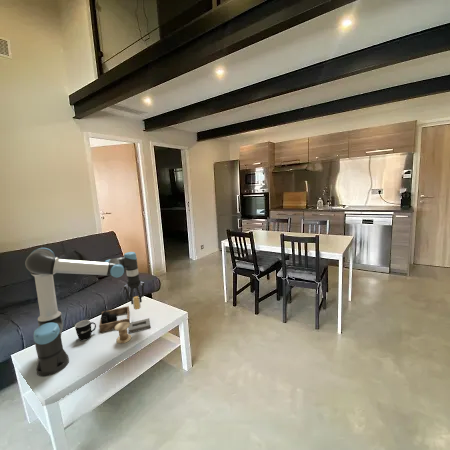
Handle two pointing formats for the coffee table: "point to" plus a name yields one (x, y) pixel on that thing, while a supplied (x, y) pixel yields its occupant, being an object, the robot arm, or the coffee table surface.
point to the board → (139, 325)
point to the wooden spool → (123, 332)
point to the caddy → (112, 324)
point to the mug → (84, 329)
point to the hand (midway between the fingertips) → (137, 307)
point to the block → (136, 302)
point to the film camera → (108, 317)
